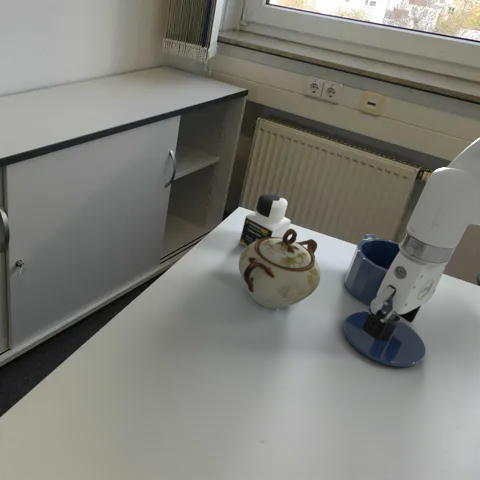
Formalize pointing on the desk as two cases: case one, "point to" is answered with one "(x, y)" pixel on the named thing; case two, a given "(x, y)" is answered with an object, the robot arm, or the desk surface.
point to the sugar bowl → (280, 270)
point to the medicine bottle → (266, 220)
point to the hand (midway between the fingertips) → (387, 325)
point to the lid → (386, 341)
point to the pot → (370, 267)
